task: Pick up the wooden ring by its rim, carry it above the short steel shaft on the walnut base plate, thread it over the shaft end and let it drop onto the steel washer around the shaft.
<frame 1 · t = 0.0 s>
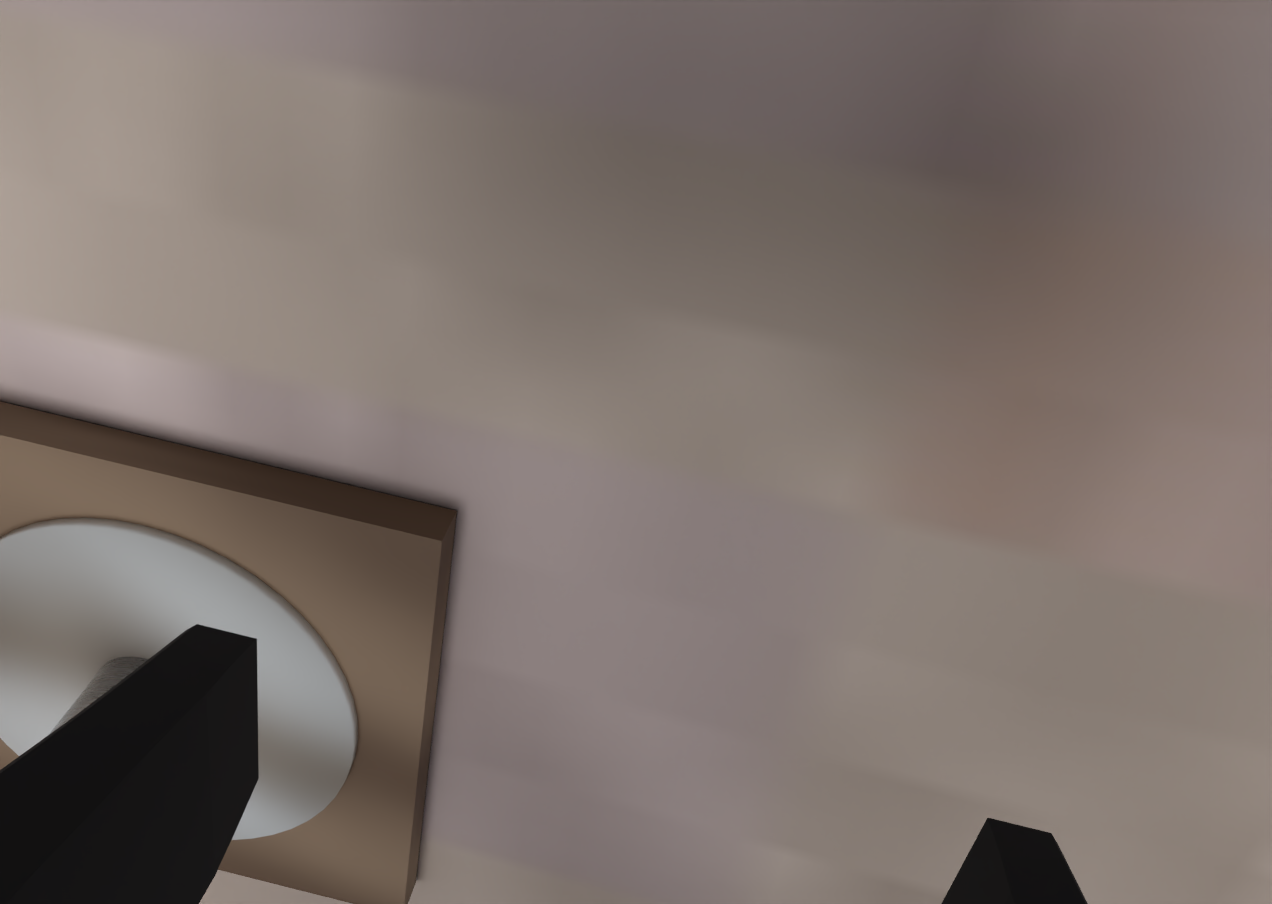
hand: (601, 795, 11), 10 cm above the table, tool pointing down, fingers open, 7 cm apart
walnut base plate: (178, 657, 26), on the table
steel shaft: (94, 775, 23), point 4 cm above the table
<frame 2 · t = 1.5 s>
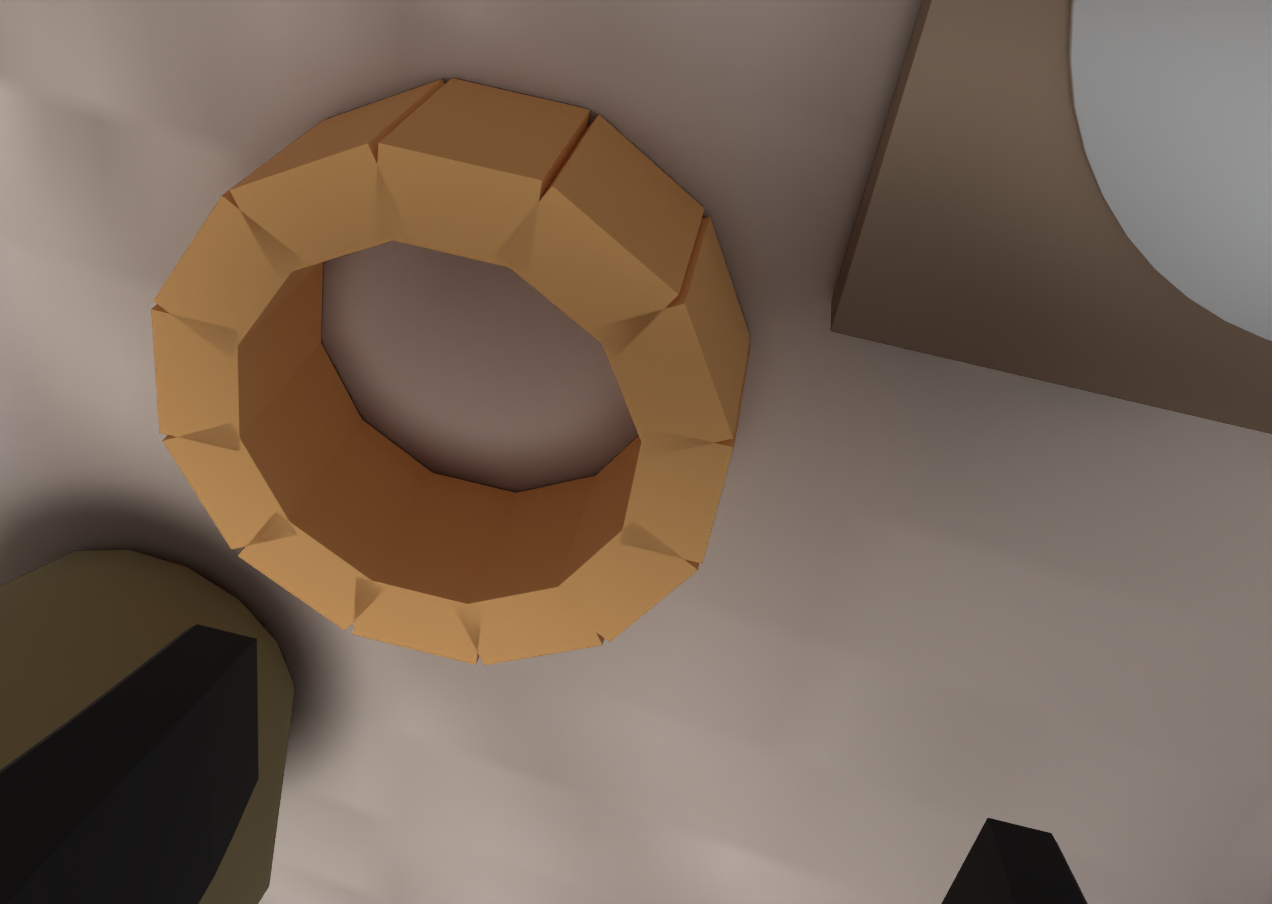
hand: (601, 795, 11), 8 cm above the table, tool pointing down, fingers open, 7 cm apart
squeeze bottle: (166, 650, 24), on the table
wooden ring: (491, 341, 18), on the table
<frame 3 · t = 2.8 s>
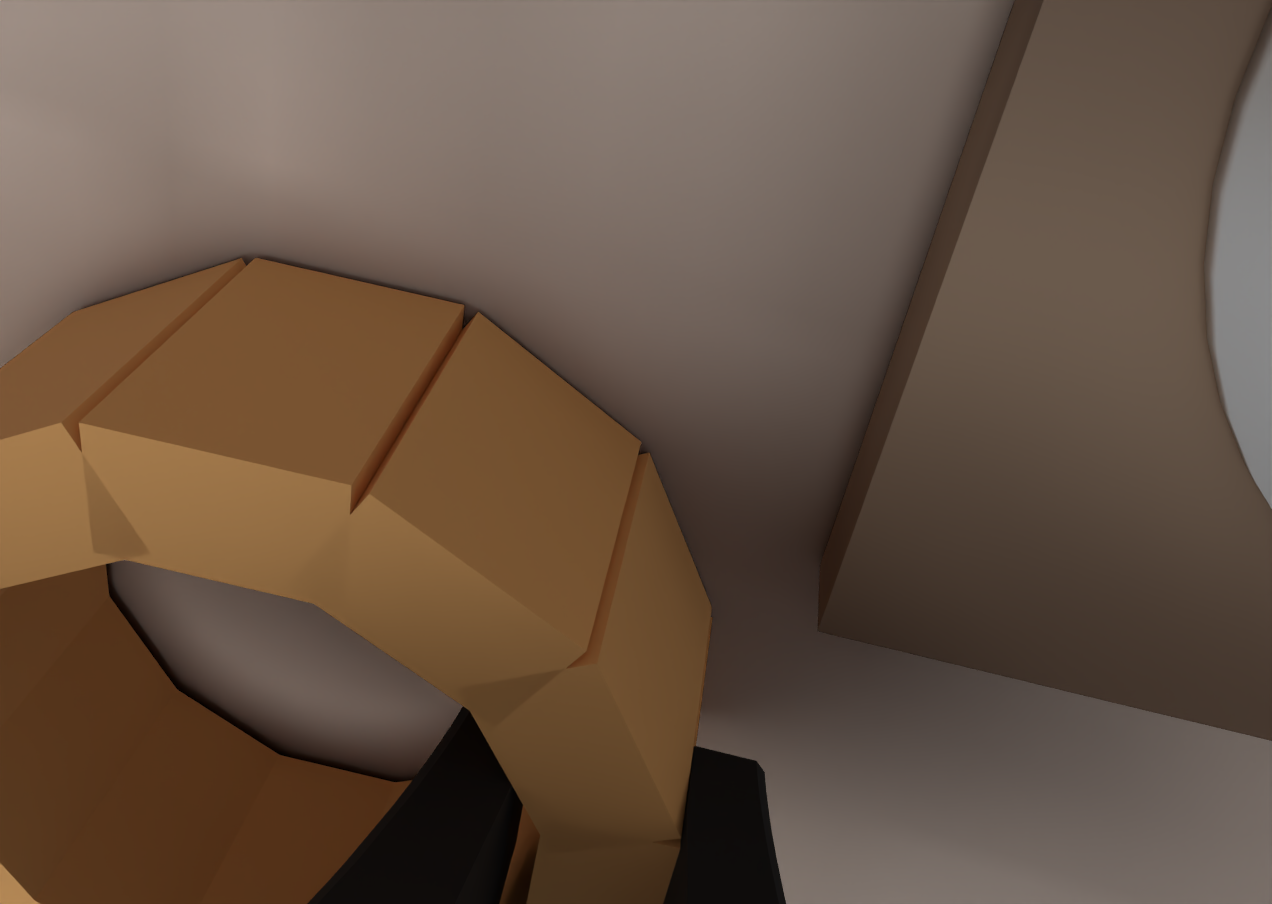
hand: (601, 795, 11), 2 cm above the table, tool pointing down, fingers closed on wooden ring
wooden ring: (345, 602, 13), on the table, touching gripper
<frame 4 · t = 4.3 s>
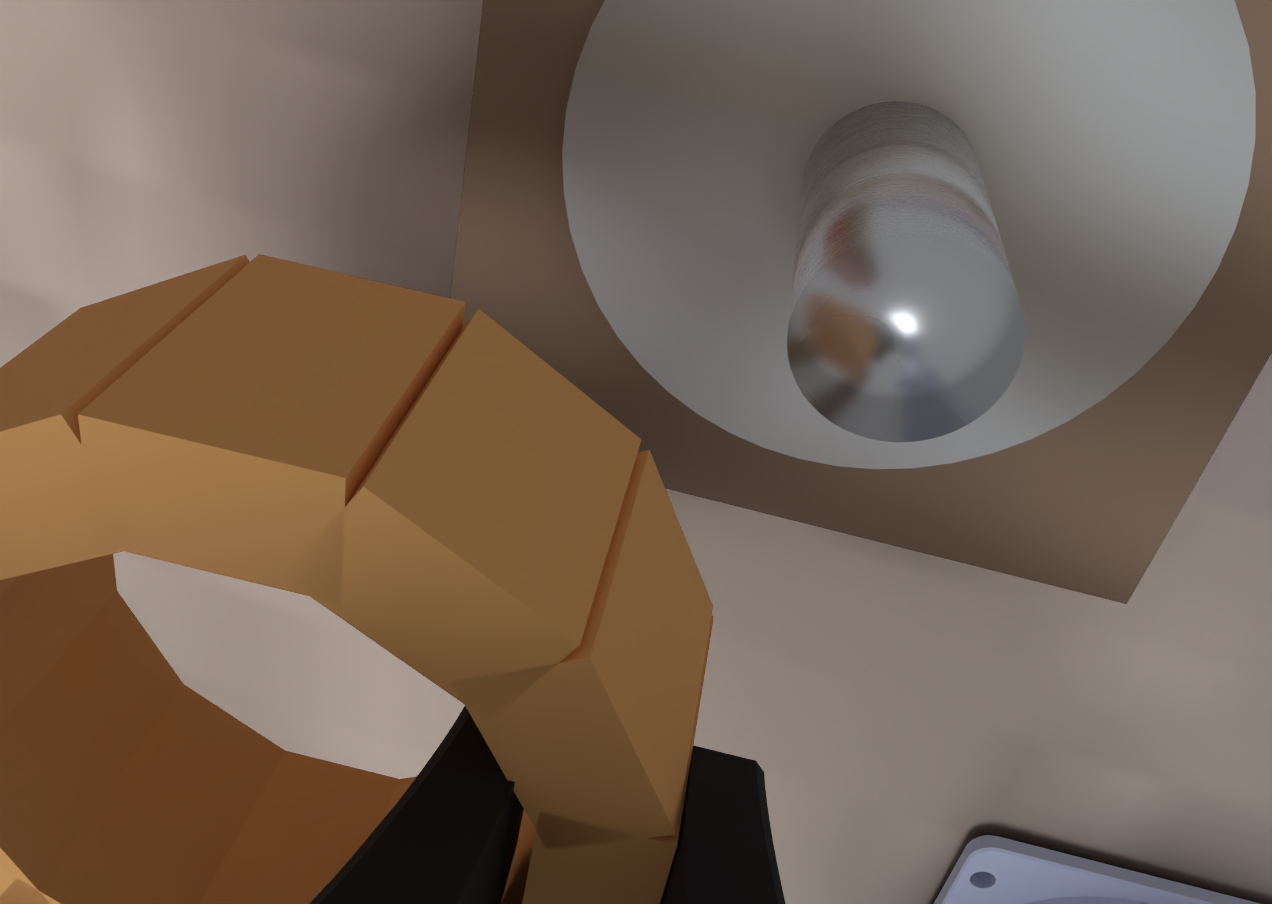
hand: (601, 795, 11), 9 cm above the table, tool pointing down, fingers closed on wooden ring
walnut base plate: (886, 158, 17), on the table
steel shaft: (895, 250, 14), point 4 cm above the table
wooden ring: (348, 598, 13), point 8 cm above the table, touching gripper
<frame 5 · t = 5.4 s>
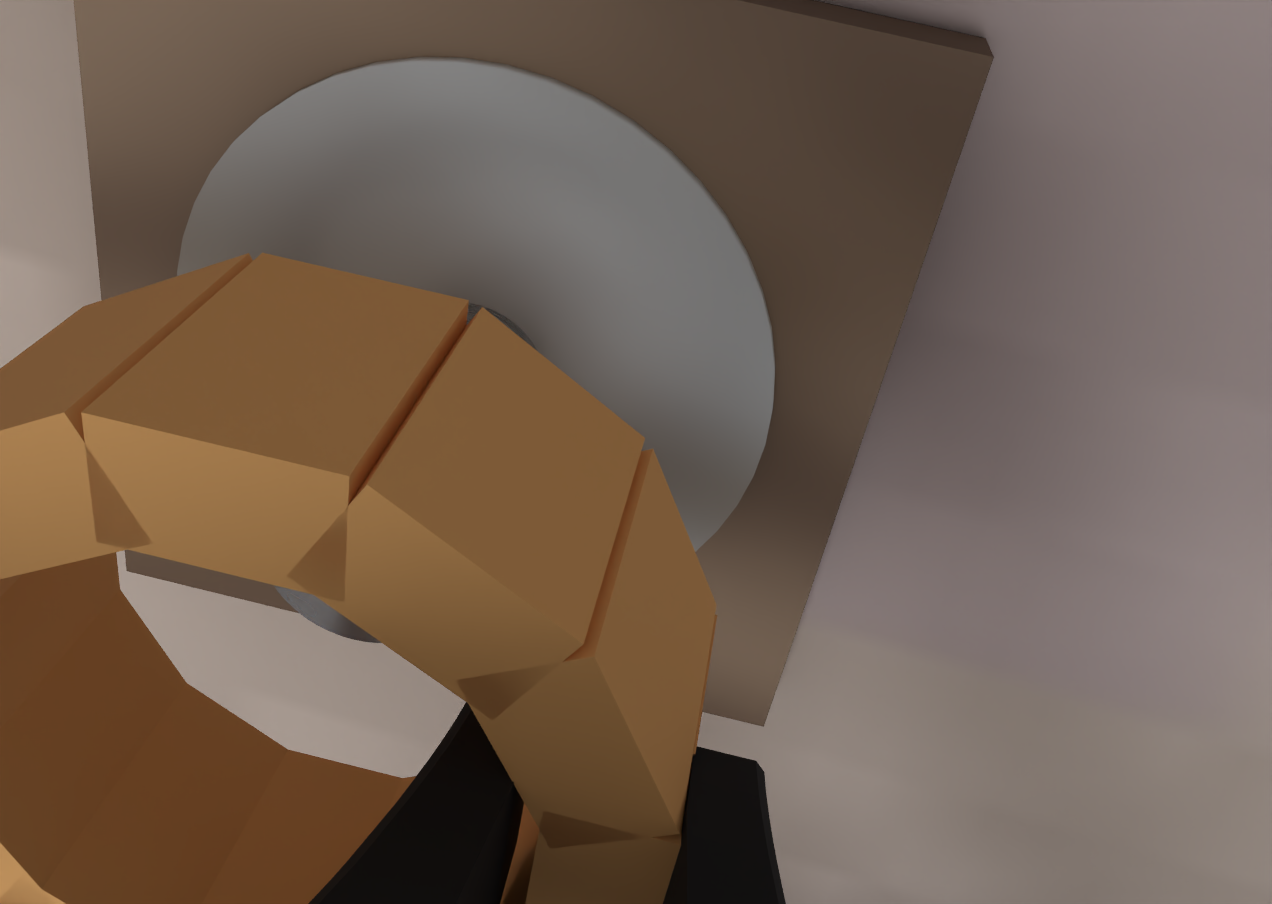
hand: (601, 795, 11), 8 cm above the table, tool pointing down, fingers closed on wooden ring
walnut base plate: (490, 336, 18), on the table
steel shaft: (423, 451, 15), point 4 cm above the table
wooden ring: (351, 597, 13), point 7 cm above the table, touching gripper
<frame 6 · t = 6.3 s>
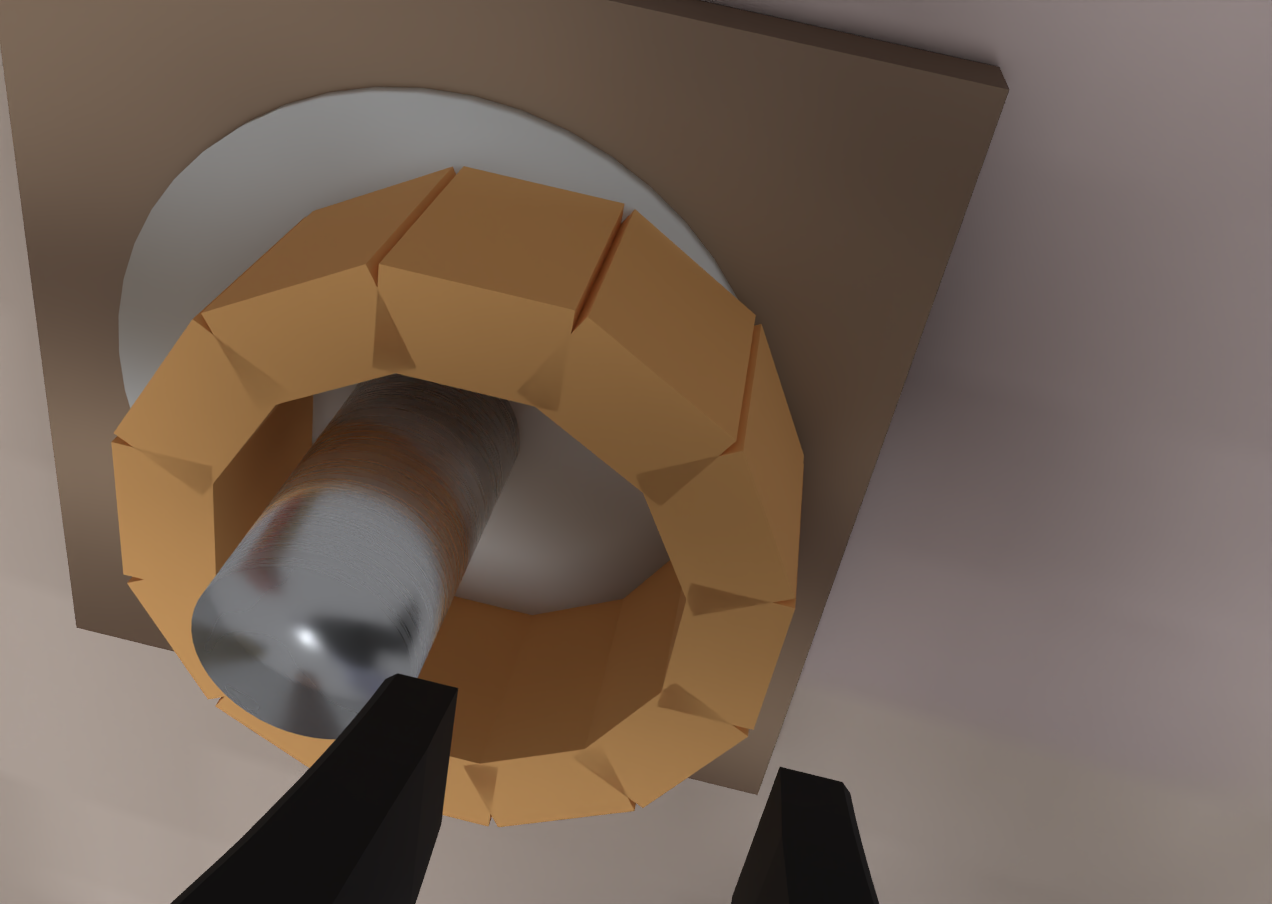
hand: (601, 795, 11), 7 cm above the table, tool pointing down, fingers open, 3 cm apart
walnut base plate: (461, 382, 17), on the table
steel shaft: (381, 519, 14), on the walnut base plate, point 4 cm above the table
wooden ring: (505, 454, 16), point 1 cm above the table, touching walnut base plate
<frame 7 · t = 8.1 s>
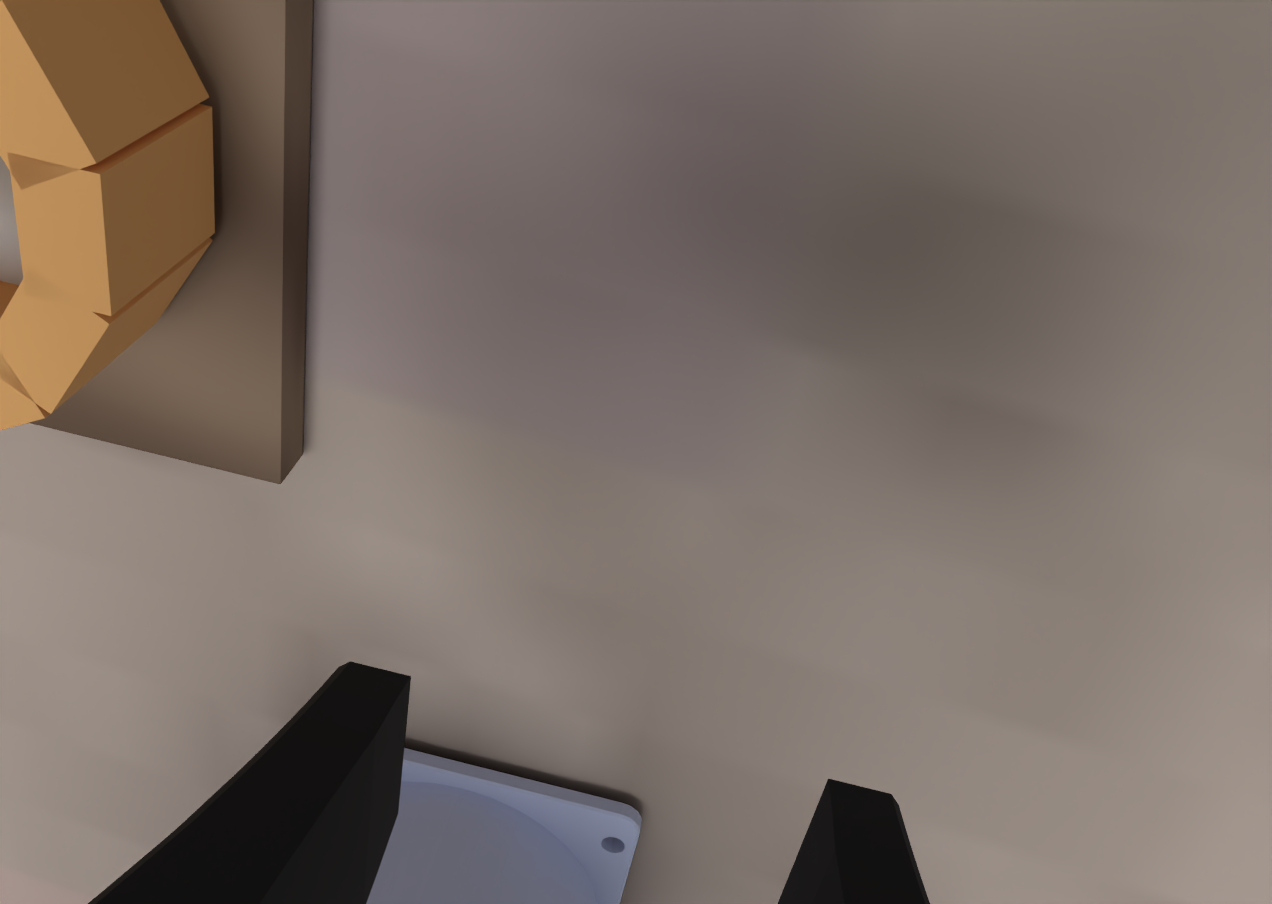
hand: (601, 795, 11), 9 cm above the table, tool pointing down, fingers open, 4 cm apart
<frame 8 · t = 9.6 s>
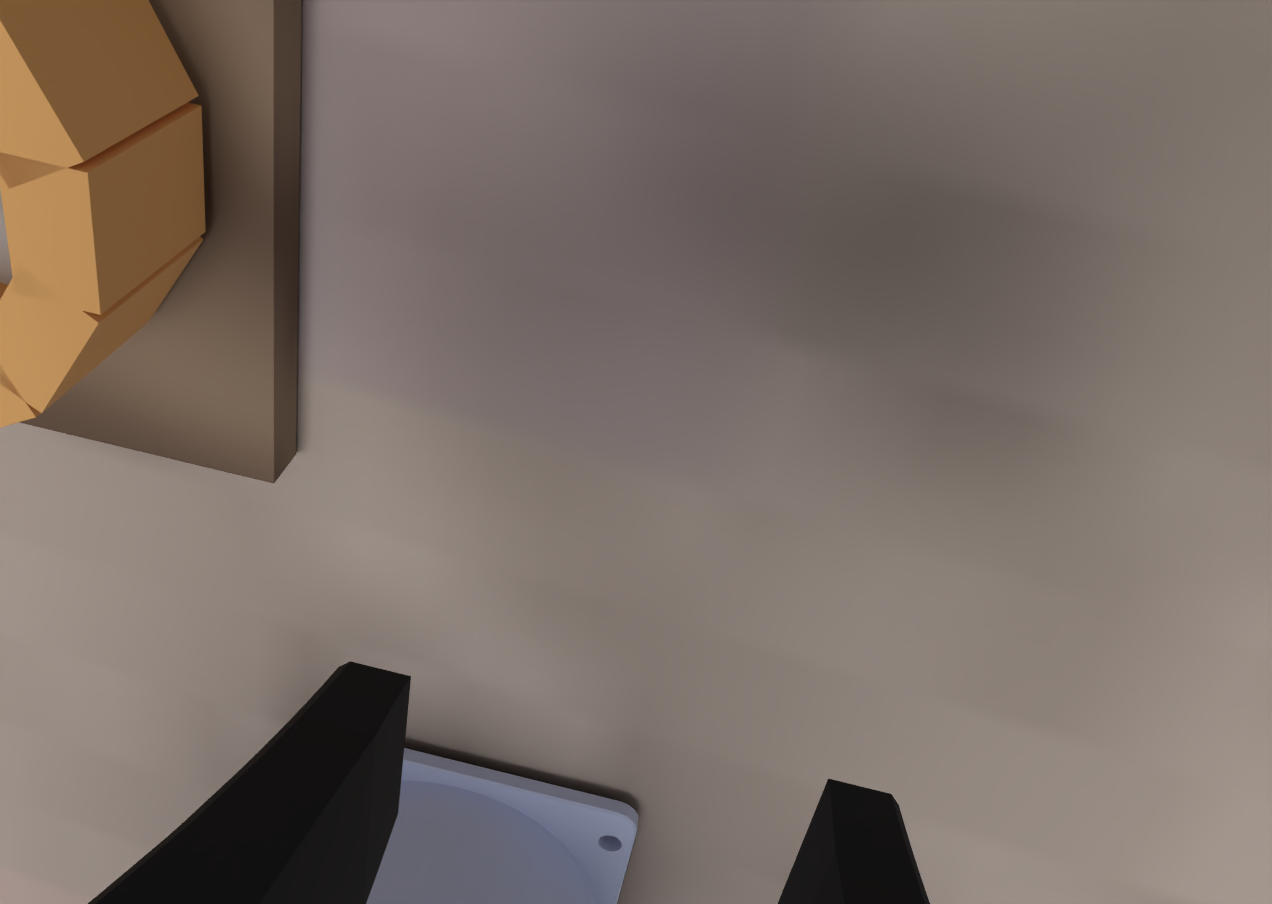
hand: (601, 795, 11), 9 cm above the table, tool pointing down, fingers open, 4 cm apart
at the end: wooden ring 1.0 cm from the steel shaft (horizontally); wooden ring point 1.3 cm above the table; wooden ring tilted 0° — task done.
